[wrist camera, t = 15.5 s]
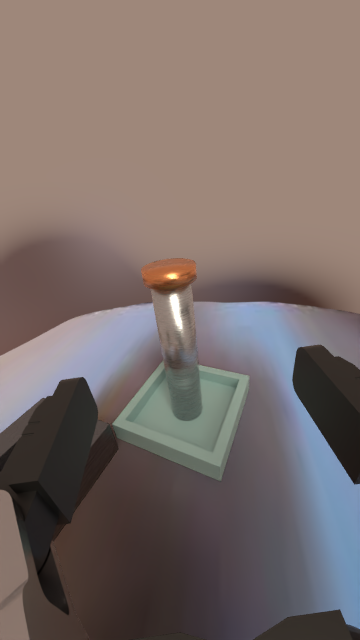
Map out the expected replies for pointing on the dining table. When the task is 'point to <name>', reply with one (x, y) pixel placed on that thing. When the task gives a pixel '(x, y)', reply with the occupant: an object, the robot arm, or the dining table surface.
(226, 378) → the tray
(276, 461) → the dining table surface
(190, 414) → the pin
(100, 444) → the block
